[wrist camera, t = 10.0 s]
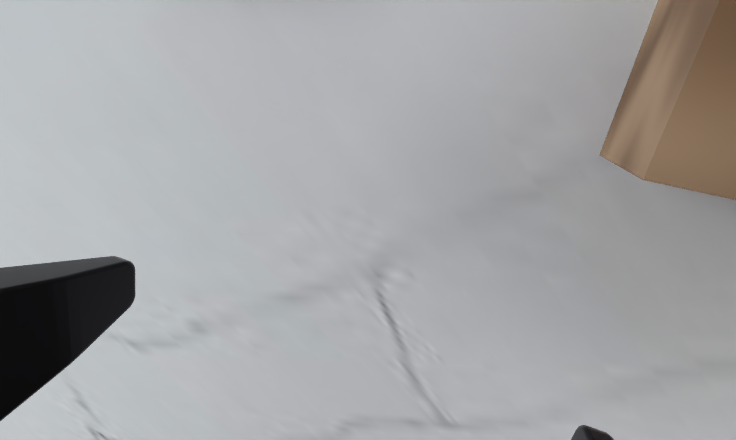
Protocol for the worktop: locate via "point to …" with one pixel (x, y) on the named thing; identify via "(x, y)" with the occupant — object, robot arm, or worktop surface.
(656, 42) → the walnut block
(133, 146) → the worktop surface
